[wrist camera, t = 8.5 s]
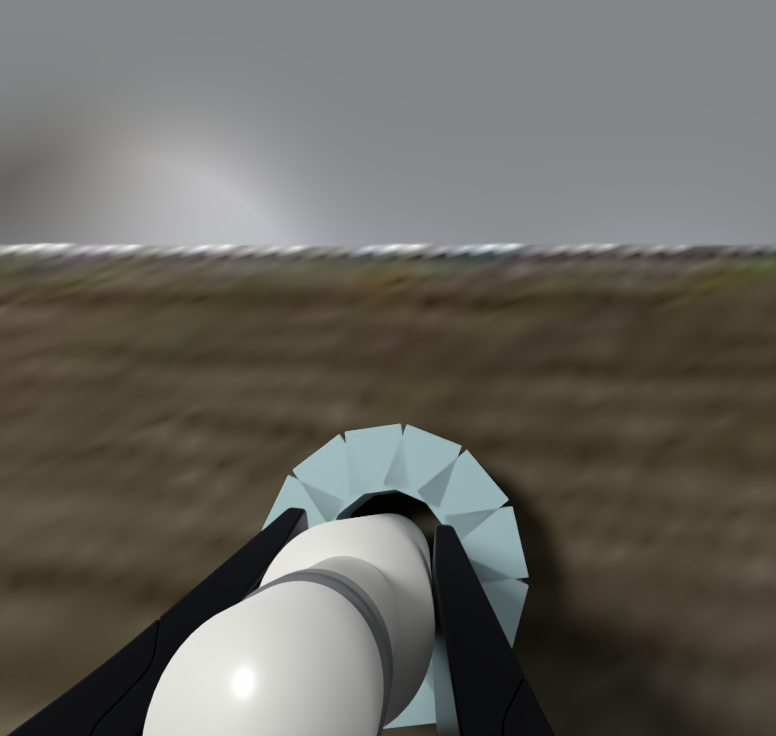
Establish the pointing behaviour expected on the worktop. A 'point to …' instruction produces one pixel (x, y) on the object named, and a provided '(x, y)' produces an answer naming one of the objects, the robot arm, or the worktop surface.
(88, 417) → the worktop surface
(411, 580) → the white rounded peg
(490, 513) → the pale blue segmented ring
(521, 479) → the worktop surface
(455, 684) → the robot arm
